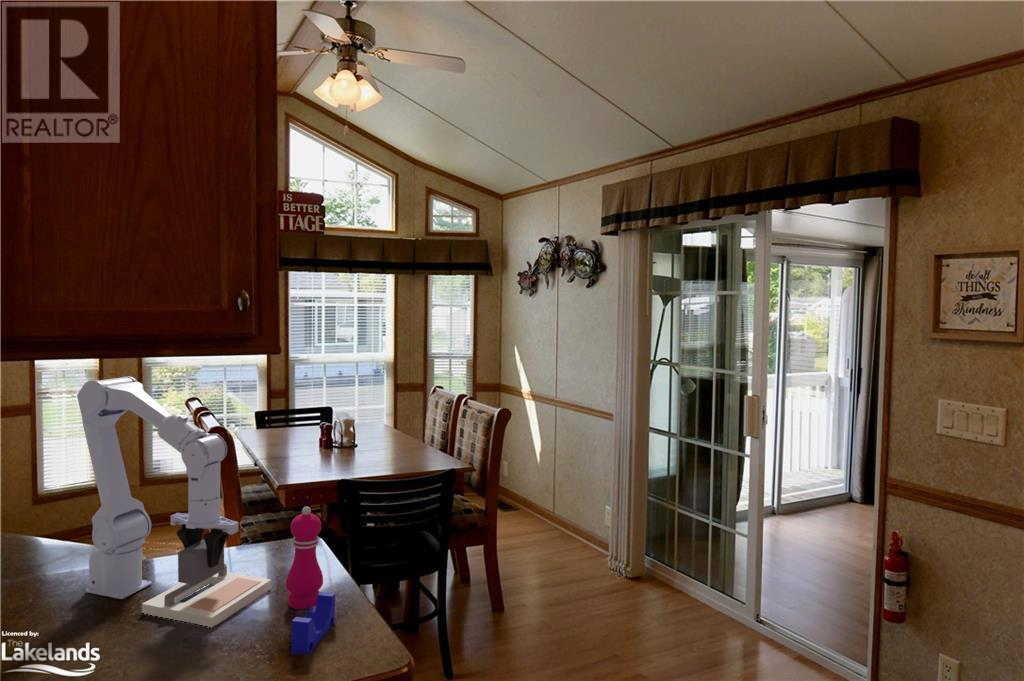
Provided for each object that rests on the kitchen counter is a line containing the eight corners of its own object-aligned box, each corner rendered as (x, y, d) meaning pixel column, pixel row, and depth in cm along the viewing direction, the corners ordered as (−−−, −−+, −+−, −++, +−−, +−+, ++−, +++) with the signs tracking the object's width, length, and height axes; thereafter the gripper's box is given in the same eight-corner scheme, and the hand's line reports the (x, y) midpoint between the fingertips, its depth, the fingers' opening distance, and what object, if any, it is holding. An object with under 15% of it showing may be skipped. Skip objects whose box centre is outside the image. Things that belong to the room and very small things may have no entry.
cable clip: (312, 620, 130) (313, 590, 130) (334, 623, 129) (335, 593, 129) (283, 652, 118) (284, 619, 118) (307, 655, 118) (308, 622, 117)
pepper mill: (307, 591, 142) (310, 499, 141) (330, 601, 138) (332, 506, 136) (278, 603, 136) (280, 506, 135) (300, 614, 132) (302, 515, 131)
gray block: (178, 582, 130) (177, 551, 129) (207, 565, 137) (207, 537, 137) (195, 585, 129) (195, 554, 128) (224, 568, 136) (224, 539, 136)
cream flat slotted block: (142, 613, 129) (142, 592, 129) (207, 577, 147) (208, 558, 146) (211, 628, 125) (211, 606, 125) (271, 588, 142) (271, 569, 142)
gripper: (158, 498, 131) (158, 566, 131) (221, 507, 127) (220, 577, 127) (185, 488, 137) (185, 553, 138) (245, 497, 133) (244, 563, 134)
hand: (203, 564), depth 133 cm, fingers closed on gray block, 4 cm apart
